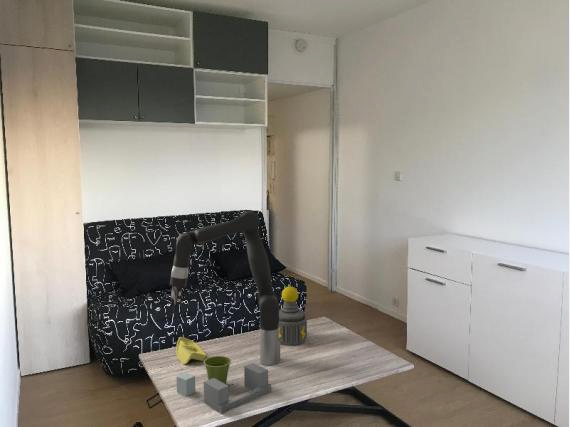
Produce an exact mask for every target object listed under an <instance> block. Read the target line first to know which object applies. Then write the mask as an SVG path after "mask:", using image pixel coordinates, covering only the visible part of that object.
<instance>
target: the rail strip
mask: <svg viewBox="0 0 570 427" xmlns="http://www.w3.org/2000/svg"><path fill="white" fill-rule="evenodd" d="M271 392H272V384H270V383H268V384H266V385H263V386H261V387H257V388H255V389H253V390H251V389H249V390H248V391H246V392H244V393H241V394H239V395H236V396H235V397H232V398H229V401H226V402H224V403H222V404H219V412H218V413H219V414H221V415H223V414H225V413H227V412H230V411H232V410H234V409H236V408H239V407H241V406H243V405H245V404H247V403H250V402H252V401H254V400H256V399H258V398H261V397H263V396H265V395H267V394H269V393H271Z"/></svg>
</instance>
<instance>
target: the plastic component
mask: <svg viewBox="0 0 570 427" xmlns="http://www.w3.org/2000/svg"><path fill="white" fill-rule="evenodd" d="M175 354H176V357H177V359H178V360H179V361H180V362H181V364H182V365H188V364H189V362H190V360H196V361H202V362H204V360H205V359H206V356H207V354H206V352H205V351H204V350H203V349H202V347H200V346H199V345H198V344H197V343H196V342H195V341H193V340H191V339H189V338H186V337H182V336H180V337H178V340H177V342H176V348H175Z"/></svg>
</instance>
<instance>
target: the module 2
mask: <svg viewBox="0 0 570 427" xmlns="http://www.w3.org/2000/svg"><path fill="white" fill-rule="evenodd" d="M229 387H230V386H229V385H227V383H226V384H224V383H222V382H220V381H219V380H217V379H215V378H212V379H210V380H208V379H207V380H205V381H203V403H204V404H205V405H206V406H208V407H210V408H212V409H213V410H215V411H216V412H218V413H219V404H222V403H224V402H226V401H229V400H230V398H229V396H230V394H229V391H230V390H229Z"/></svg>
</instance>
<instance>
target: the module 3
mask: <svg viewBox="0 0 570 427" xmlns="http://www.w3.org/2000/svg"><path fill="white" fill-rule="evenodd" d="M243 368H244V369H243V372H244V375H243V376H244V378H243V380H244V387H245V388H247V389H249V390H253V389H255V388H257V387H261V386H263V385H266V384H269V369H267V368H265V367H263V366H260V365H258V364H256V363H254V362H252V363H249V364H247V365H244V367H243Z"/></svg>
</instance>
